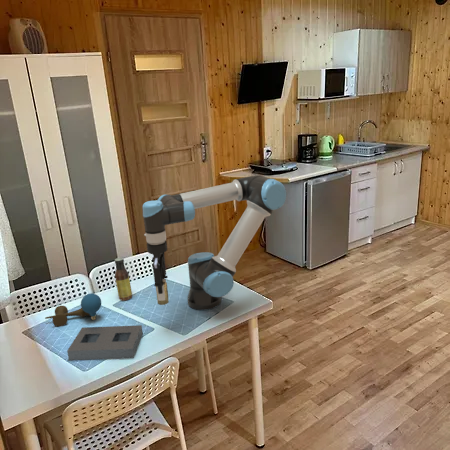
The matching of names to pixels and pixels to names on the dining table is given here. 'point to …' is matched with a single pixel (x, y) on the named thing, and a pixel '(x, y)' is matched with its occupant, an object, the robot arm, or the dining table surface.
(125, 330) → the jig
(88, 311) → the light bulb
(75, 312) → the kendama
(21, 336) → the dining table surface
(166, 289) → the bushing
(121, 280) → the sauce bottle
